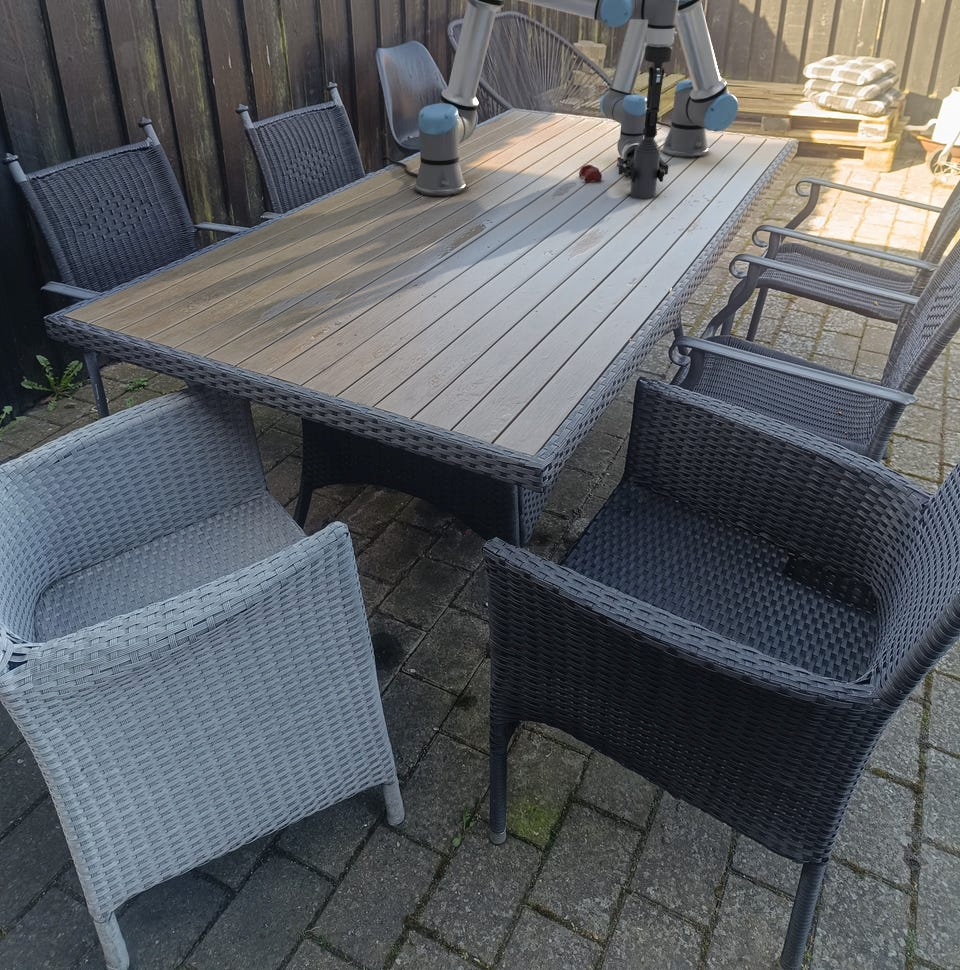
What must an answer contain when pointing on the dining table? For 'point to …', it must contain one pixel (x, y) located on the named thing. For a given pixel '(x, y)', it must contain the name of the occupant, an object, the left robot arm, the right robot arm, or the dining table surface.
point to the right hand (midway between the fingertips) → (648, 177)
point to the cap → (645, 132)
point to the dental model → (590, 173)
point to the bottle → (645, 169)
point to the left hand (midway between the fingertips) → (649, 134)
